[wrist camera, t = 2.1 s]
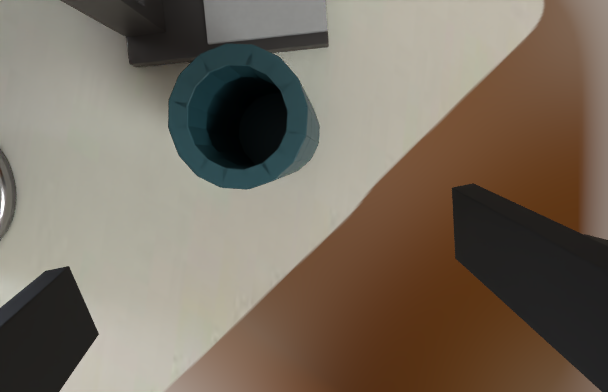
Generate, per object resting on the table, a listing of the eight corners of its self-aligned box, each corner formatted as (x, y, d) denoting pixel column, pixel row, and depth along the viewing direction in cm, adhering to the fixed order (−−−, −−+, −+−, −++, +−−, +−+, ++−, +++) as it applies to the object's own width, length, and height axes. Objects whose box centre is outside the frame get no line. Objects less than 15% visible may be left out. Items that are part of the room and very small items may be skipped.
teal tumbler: (223, 152, 35) (147, 151, 21) (257, 75, 33) (200, 18, 20) (297, 189, 34) (270, 212, 21) (334, 112, 33) (332, 81, 19)
